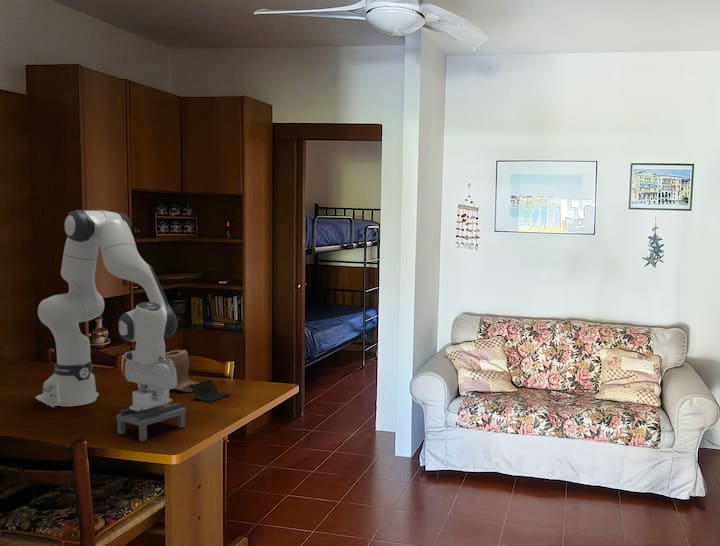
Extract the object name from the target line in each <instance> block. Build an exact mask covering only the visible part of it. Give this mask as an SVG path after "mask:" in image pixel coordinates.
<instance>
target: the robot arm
mask: <svg viewBox="0 0 720 546" xmlns="http://www.w3.org/2000/svg"><path fill="white" fill-rule="evenodd" d="M63 222H64V223H63V229H64V233H65V235H66V237H67V238H66V241H65V243H64V249H63V255H62V261H61V266H60V267H61V269H60V276H61V278H62V279H63V280H64V281H66V283H68V292H67V293H60V294H54V295H52V296H49V297H47V298H44V299H42V300H41V301H40V303H39V304H38V307H37V316H38V319H39V320H40V322H41V324H43V325H45V327H47V328H48V329H49V330H50V332H51V333H52V334H51V335H52V336H53V337H54V342H55V349H56V363H53V364H52V365H53V366H52V368H54V371H53V373H52V375H51V376H49V377H48V379H46V380H45V381H44V382H43V384H42V385H43V386H42V393H41V394H38V395H36V396H35V400H36V399H37V400H36V401H38V400H39V401H38V402H40V401H41V403H42V402H43V403H42V404H44V403H45V404H44V405H46V404H47V405H46V406H48V405H49V406H48V407H50V406H51V407H50V408H56V407H55V406H61V407H76V406H84V405H89V404H91V403H95V402H96V401H97V400H98V399H97V398H98V397H99V395H100V393H99V392H97V387H96V378H95V374H94V373H92V372H93V362H92V360H91V341H90V339H89V337H88V336H87V335H85V334H83V333H82V332H81V329H80V325H79V323H83V322H90V321H92V320H94V319H96V318H98V317H100V316H101V315H102V314H103V313H104V310H105V300H104V298H103V297H102V294H100V293H99V292H98V290H97V286H96V277H95V276H96V271H97V269H96V268H97V261H98V255H99V248H100V254H101V258H102V262H103V265H104V267H105V269H106V270H107V272H108V273H110V274H111V275H113V276H114V277H116V278H118V279H122V280H126V281H130V282H133V283H135V284H137V285H139V286H141V287H142V288H143V289H144V291H145V293H146V296H147V298H148V301H143V302H140V303H138V304H137V305H136V306H135V308H134V309H132V310H130V311H127V312H124V313H122V315H120V317H119V319H118V321H117V323H118V324H117V329H118V330H117V331H118V334H119V336H120V337H121V339H123V340H124V341H126V342H135V347H134V348H135V349H134V350H131V351H128V352H127V351H126V352H125V353H124V360H126V361H125V363H124V374H125V375H124V376H125V379H126V381H127V382H130V383H135V384H137V388H138V390H141V389H145V388H146V386H147V385H148V386H152V387H156V389H157V391H158V392H157V395H155V401H162V395H163V393H164V391H165V389H166V390H169V391H171V390H174V389H173V388H176V386H177V375H176V369H175V366H174V363H173V362H172V361H171V359H166V358H165V353H166V343H165V340H166V339H170V338H171V337H172V336H173V335H174V334H175V332H176V331H177V328H178V326H179V325H178V319H177V318H178V317H177V316H176V314H175V312H174V310H173V309H172V307H171V306H170V304H169V302H168V301H169V300H168V299H167V297H166V295H165V292H164V290H163V288H162V285H161V283H160V280H159V279H158V276H157V273H156V272H155V270H154V268H153V266H152V265H151V264H149V263H148V262H146V261H145V260H144V258H142V256H141V254H140V253H139V250H138V248H137V244H136V241H135V238H134V235H133V233H132V223H131V220H130V218H129V216H127V214H125V213H122V212H120V211H119V212H118V211H109V210H102V209H98V210H82V209H77V210H73V211H69V213H68V214H67V215H66V217H65V219H64V221H63Z"/></svg>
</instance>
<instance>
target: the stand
mask: <svg viewBox="0 0 720 546" xmlns="http://www.w3.org/2000/svg"><path fill="white" fill-rule="evenodd" d="M186 412H187V408H185V407H182V403H181V402H176V403H174V404H170V403H167V404H164V405H160V406H157V407H153V408H150V409H147V410H141V411H135V410H131V409H130V407H128V408H125V409H122V410H120V413H118V414H115V417H116V422H117V428H116V429H117V434H118V433H119V434H122V435H125V434H126V423H128V424H129V425H135V426H138V440H139V441H141V442H145V441H148V430H147V429H148V427H147V426H149V425H152V424H155V423H159V422H160V423H163V422H164V421H165V420H167V419H168V420H169V419H171V418H175V417H177V428H178V429H183V428H185V427H186ZM162 421H163V422H162ZM182 427H183V428H182ZM124 433H125V434H124ZM119 434H118V435H119Z"/></svg>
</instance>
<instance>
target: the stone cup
mask: <svg viewBox="0 0 720 546" xmlns="http://www.w3.org/2000/svg"><path fill="white" fill-rule="evenodd" d="M165 358H166V359H171V361H172V362H173V363H174V366H175V369H176V375H177V386H176V388H173V389H172V390H175V391H180V392H187V393H192V391H193V389H192V387H191V386H192V385H195V384H198V383H199V382H198V381H195V380H192V379H191V378H189V371H190V370H189V369H190V358H189V353H188V351H187V350H185V349H182V350H181V349H175V350H171V351H169V352H165ZM193 392H194V391H193Z"/></svg>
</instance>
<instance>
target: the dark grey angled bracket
mask: <svg viewBox="0 0 720 546" xmlns="http://www.w3.org/2000/svg"><path fill="white" fill-rule="evenodd" d="M191 387H192V389H193V392H194V394H195V396H196V398H197V399H198V400H199V401H198V400H197V401H198V402H200V401H204V402H203V403H206V402H210V403H209V404H213V403H212V402H214V403H215V401H216V402H218V401H217V400H219V401H221V400H223V399H222V398H224V399H226V398H225V397H227V398H229V397H230V393H224V392H220V391H218V389H217V388H216V386H215V385H214V382H213V381H212V379H206V380H204V381H201V382H198V384H195V385H192V386H191ZM228 396H229V397H228ZM220 399H221V400H220Z"/></svg>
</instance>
